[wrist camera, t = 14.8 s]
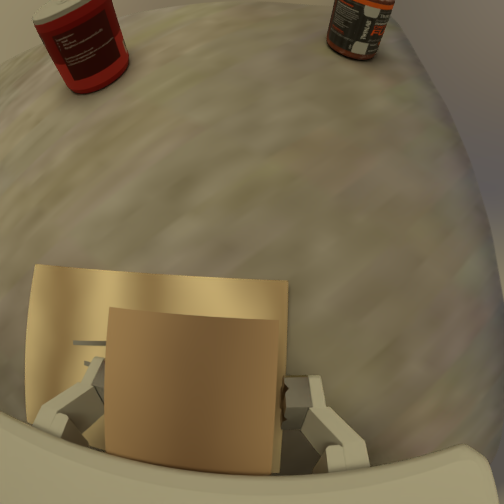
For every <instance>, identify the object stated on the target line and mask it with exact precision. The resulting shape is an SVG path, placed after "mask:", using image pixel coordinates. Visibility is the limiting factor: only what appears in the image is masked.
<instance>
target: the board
mask: <svg viewBox="0 0 504 504" xmlns="http://www.w3.org/2000/svg"><path fill="white" fill-rule="evenodd" d="M109 307H115V308H123V309H132V310H141V311H150V312H161V313H171V314H183V315H195V316H209V317H225V318H243V319H265V320H279V335H278V361H277V384H276V403H275V421H274V438H273V453H272V468H271V473H279V472H280V459H281V445H282V430H281V427H280V414H281V409H280V407H279V396H280V388H281V387H282V377H283V375H285V374H286V350H287V318H288V281H280V280H256V279H234V278H214V277H196V276H179V275H163V274H148V273H134V272H120V271H107V270H95V269H83V268H71V267H60V266H50V265H39V264H35V269H34V275H33V281H32V288H31V295H30V302H29V311H28V321H27V333H26V351H25V398H26V415H27V422H29V423H31V424H33V423H34V420H35V418H36V416H37V414H38V412H39V410H40V408H41V406H42V405H43V404H45V403H46V402H48V401H50V400H51V399H53V398H54V397H56V396H57V395H59V394H60V393H62V392H64V391H65V390H67V389H68V388H70V387H71V386H73V385H74V384H76V383H77V382H80V383H81V381H82V379H83V377H84V375H85V373H86V371H87V369H88V367H89V365H90V363H91V361H92V359H93V358H94V357H95V356H98V357H103V358H105V353H106V338H107V325H108V315H109ZM82 435H83V436H84V437H85V439H86V440H87V441H88V443H89V446H92V447H95V448H98V449H102V450H105V451H106V446H105V424H104V415H103V416H101V417H100V418H99V419H98V420H97V421H96V422H95V423H94V424H92V425H91V426H90V427H89V428H88V429H87V430H86V431H85V432H83V433H82Z"/></svg>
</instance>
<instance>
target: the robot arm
mask: <svg viewBox="0 0 504 504" xmlns="http://www.w3.org/2000/svg"><path fill="white" fill-rule="evenodd" d="M104 376H105V358H103V357H98V356H95V357H94V358H93V359H92V361H91V363H90V365H89V367H88V369H87V371H86V373H85V375H84V377H83V379H82V381H81V383H80V382H77V383H76V384H74V385H73V386H71V387H70V388H68V389H67V390H65V391H64V392H62V393H60V394H59V395H57V396H56V397H54V398H53V399H51V400H50V401H48V402H46V403H45V404H43V405H42V406H41V408H40V410H39V412H38V414H37V416H36V418H35V420H34V423H33V425H32V426H30V425H28V424H26V423H24V422H22V421H20V420H18V419H16V418H14V417H12V416H10V415H8V414H6V413H4V412H2V411H0V504H499V499H498V495H497V490H496V486H495V481H494V478H493V474H492V471H491V468H490V465H489V463H488V461H487V459H486V458H485V457H484V456H483V455H481V454H480V453H479V452H477V451H476V450H474V449H473V448H471V447H470V446H468V445H466V444H458V445H454V446H451V447H448V448H445V449H442V450H439V451H436V452H432V453H429V454H426V455H422V456H418V457H414V458H410V459H406V460H402V461H398V462H393V463H389V464H384V465H379V466H373V467H370V463H369V458H368V453H367V449H366V444H365V441H364V440H363V439H362V438H361V437H360V436H359V435H358V434H357V433H356V432H355V431H354V430H353V429H352V428H351V427H350V426H349V425H348V424H347V423H346V422H345V421H344V420H343V419H342V418H341V417H340V416H338V415H337V414H336V413H335V412H334V411H333V410H332V409H331V408H330V407H326V403H325V397H324V391H323V386H322V380H321V376H320V375H283V377H282V387H281V388H280V396H279V407H280V409H281V414H280V427H281V430H301V432H302V433H303V434H304V436H305V437H306V438H307V439H308V441H309V442H310V443H311V445H312V446H313V447H314V449H315V450H316V451H317V452H318V454H319V455H320V456H321V458H320V459H319V461H318V462H317V464H316V465H315V467H314V468H313V474H308V475H287V476H251V475H230V474H217V473H206V472H197V471H189V470H182V469H176V468H169V467H164V466H158V465H153V464H148V463H143V462H139V461H134V460H130V459H126V458H122V457H118V456H114V455H111V454H107V453H104V452H100V451H97V450H94V449H90V448H88V445H89V443H88V441H87V440H86V439H85V437H84V436H83V435H82V433H83V432H85V431H86V430H87V429H88V428H89V427H90V426H91V425H92V424H94V423H95V422H96V421H97V420H98V419H99V418H100V417H101V416H103V415H104Z"/></svg>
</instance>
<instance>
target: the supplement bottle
mask: <svg viewBox="0 0 504 504" xmlns="http://www.w3.org/2000/svg"><path fill="white" fill-rule="evenodd" d="M394 3H395V0H335V2H334V6H333V10H332V15H331V19H330V23H329V28H328V32H327V42H328V44H329V45H330V47H332V48H333V49H334V50H335V51H337V52H339V53H340V54H342V55H345V56H347V57H350V58H353V59H359V60H365V59H370V58H372V57H373V56H374V55H375V53H376V52H377V49H378V47H379V44H380V41H381V38H382V36H383V33H384V30H385V28H386V25H387V22H388V20H389V17H390V14H391V12H392V8H393V6H394Z"/></svg>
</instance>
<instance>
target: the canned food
mask: <svg viewBox="0 0 504 504" xmlns="http://www.w3.org/2000/svg"><path fill="white" fill-rule="evenodd" d="M32 20H33V23H34V25H35V28H36V30H37V32H38V34H39V36H40V38H41V40H42V42H43V44H44V45H45V47H46V49H47V51H48V53H49V55H50V57H51V58H52V60H53V62H54V64H55V66H56V67H57V69H58V71H59V73H60V75H61V76H62V78H63V80H64V82H65V83H66V85H67V87H68V88H70V89H71V90H72V91H73V92H75V93H80V94H83V93H90V92H94V91H97V90H99V89H102V88H104V87H106V86H107V85H109V84H111V83H112V82H114V81H115V80H116V79H117V78H119V77H120V76H121V75H122V73H123V72H124V71H125V70H126V68H127V66H128V61H129V54H128V51H127V48H126V45H125V42H124V39H123V36H122V32H121V29H120V26H119V23H118V20H117V17H116V13H115V10H114V7H113V3H112V0H50V1H48V2H47V3H46V4H44V5H43V6H42V7H41V8H40V9H39V10H38V11H37V12H36V13H35V14H34V16H33V17H32Z"/></svg>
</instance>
